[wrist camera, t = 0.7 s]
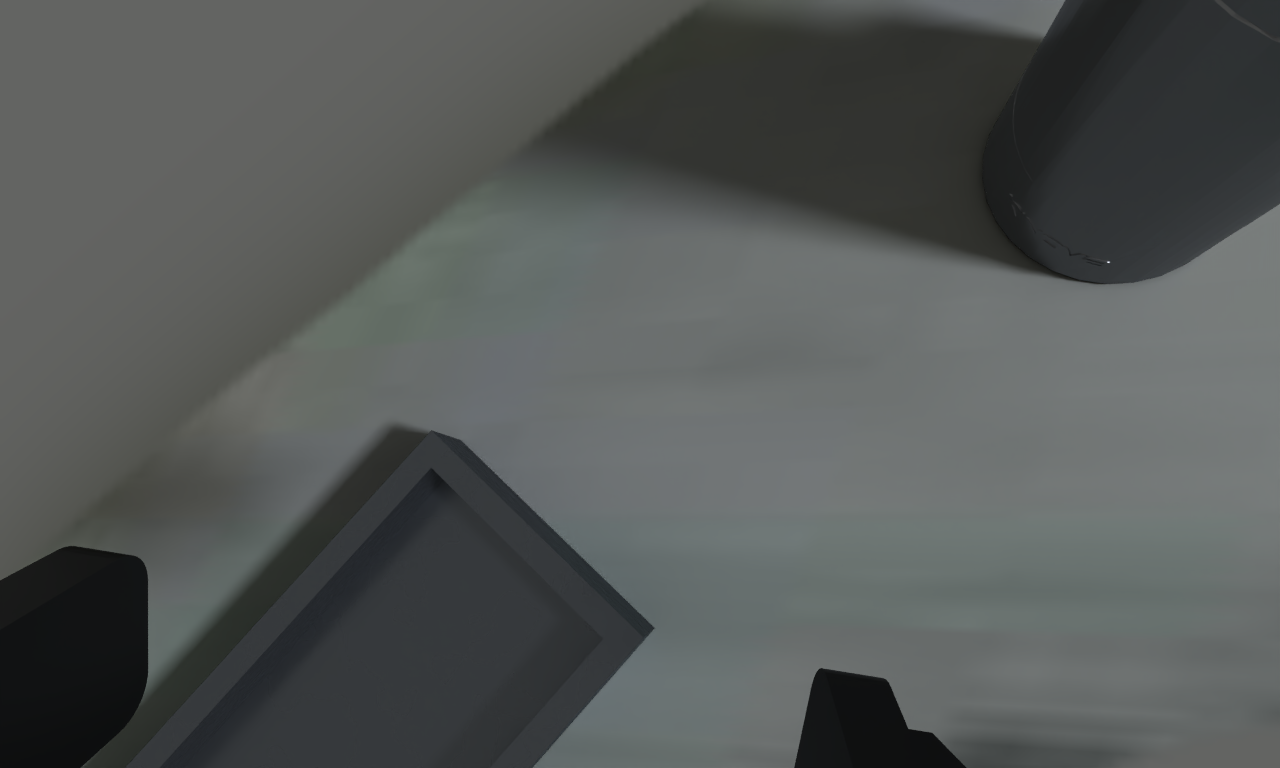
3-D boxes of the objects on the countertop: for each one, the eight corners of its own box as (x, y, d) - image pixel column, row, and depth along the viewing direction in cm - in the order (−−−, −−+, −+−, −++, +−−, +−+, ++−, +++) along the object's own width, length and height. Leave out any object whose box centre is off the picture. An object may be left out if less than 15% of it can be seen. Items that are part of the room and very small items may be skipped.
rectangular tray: (460, 440, 33) (431, 430, 30) (654, 628, 30) (643, 637, 27) (92, 847, 32) (24, 878, 29) (259, 1079, 29) (203, 1139, 26)
